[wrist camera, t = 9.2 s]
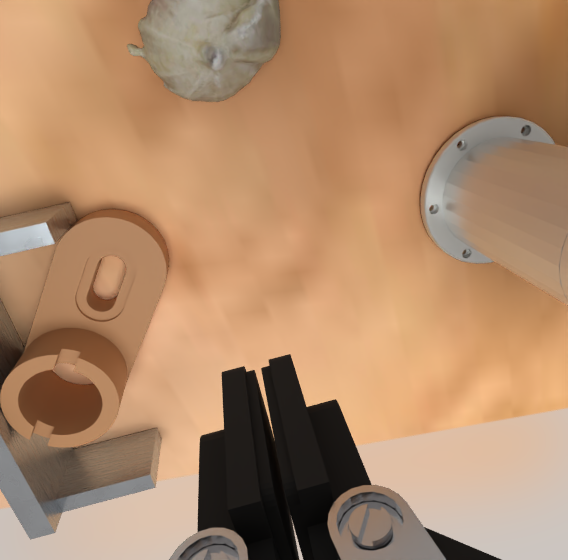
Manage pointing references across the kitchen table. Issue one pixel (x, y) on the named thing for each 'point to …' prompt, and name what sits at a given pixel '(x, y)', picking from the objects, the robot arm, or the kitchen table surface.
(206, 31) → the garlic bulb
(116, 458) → the steel u-channel
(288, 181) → the kitchen table surface
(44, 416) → the bracket
